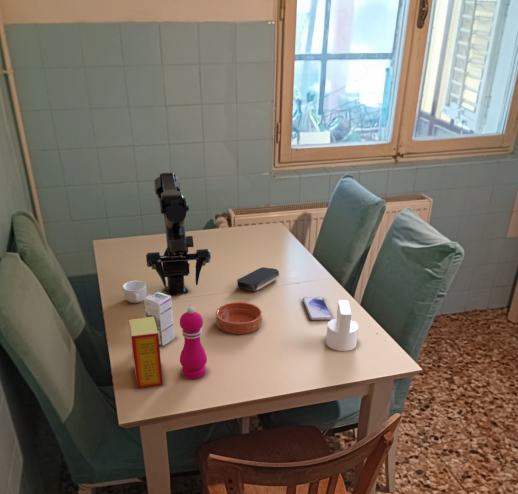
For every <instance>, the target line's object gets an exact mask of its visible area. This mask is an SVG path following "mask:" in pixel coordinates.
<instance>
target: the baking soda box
mask: <svg viewBox="0 0 518 494" xmlns="http://www.w3.org/2000/svg"><path fill="white" fill-rule="evenodd" d="M128 326H129V333H130V342H131V350H132V360H133V367H134V373H135V382H136V386H137V389H145V388H152V387H160V386H163V384H164V381H163V369H162V360H161V350H160V345H159V337H158V331H157V327H156V323H155V319H154V316H150V317H146V316H142V317H133V318H128Z"/></svg>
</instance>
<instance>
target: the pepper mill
mask: <svg viewBox="0 0 518 494" xmlns="http://www.w3.org/2000/svg"><path fill="white" fill-rule="evenodd" d="M179 326H180V328H181V329H182V330H181V332H182V334H181V335H182V337H183V338H184V341H183V342H184V343H183V347H182V349H181V352H180V355H179V363H180V365H181V366H182V368H181V370H182V376H183V377H185V378H186V379H190V380H197V379H200V378H201V379H202V378H203V377H204V376H205V375H206V372H207V371H206V364H207V362H208V357H207V352H206V351H205V349H204V347H203V345H202V342H201V336H202V334H203V333H202V331H203V330H202V328H203V326H204V318H203V316H202V315H201V314H200V313H199V312H198V311H195V308H194V307H191V306H190V307H188V308H187V311H185V312H184V313H182V314H181V316H180V318H179Z"/></svg>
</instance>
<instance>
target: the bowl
mask: <svg viewBox="0 0 518 494" xmlns="http://www.w3.org/2000/svg"><path fill="white" fill-rule="evenodd" d="M215 323H216V327H217V328H218V329H219V330H221V331H223V332H225V333H228V334H236V335H243V334H244V335H245V334H249V333H253V332H255V331H257V330H259V329H260V328H261V327H262V324H263V310H262V309H261V308H260V307H259V306H258V305H255V304H253V303H250V302H244V301H237V302H236V301H234V302H227V303H225V304H223V305H220V306H219V307H218V308H217V309H216V311H215Z"/></svg>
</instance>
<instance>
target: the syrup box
mask: <svg viewBox="0 0 518 494" xmlns="http://www.w3.org/2000/svg"><path fill="white" fill-rule="evenodd" d="M172 302H173V301H172V295H170V294H166V293H163V292H160V291H157V290H156V291H154V292H151V293H149V294H148V295H146V297H145V298H144V300H143V303H144V310H145V317H150V316H154V319H155V323H156V327H157V331H158V337H159V346H162V347H164V346H166V345H167V344H169V343H170V342H172V341H173V340H174V339H175V337H176V336H175V329H174V327H175V326H174V315H173V303H172Z"/></svg>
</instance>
